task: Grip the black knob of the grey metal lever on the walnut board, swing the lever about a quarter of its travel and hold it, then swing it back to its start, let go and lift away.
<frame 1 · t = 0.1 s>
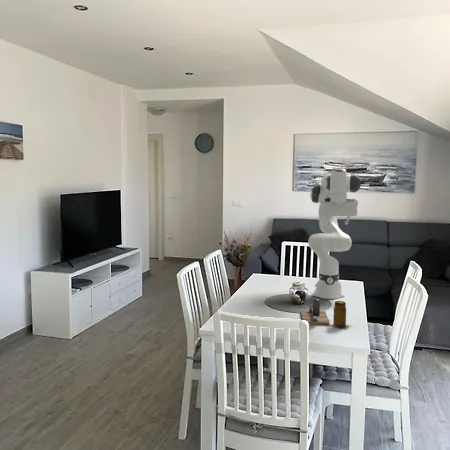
hand: (337, 224, 246), 48 cm above the table, tool pointing down, fingers open, 8 cm apart
lever: (314, 305, 236), point 7 cm above the table, hinge at 0.0°
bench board: (314, 318, 238), on the table
condiment: (341, 326, 227), on the table
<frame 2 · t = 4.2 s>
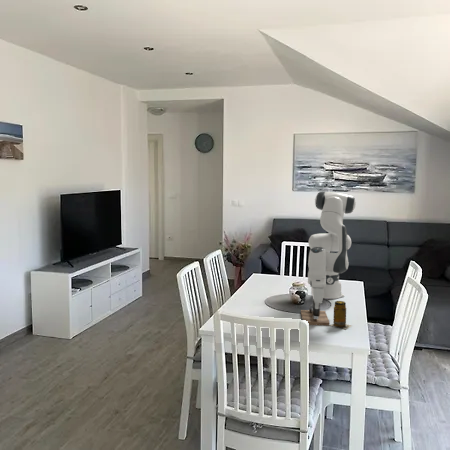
hand: (316, 307, 229), 9 cm above the table, tool pointing down, fingers closed on lever, 4 cm apart
lever: (314, 305, 236), point 7 cm above the table, hinge at 0.0°, touching gripper
everything else where it was.
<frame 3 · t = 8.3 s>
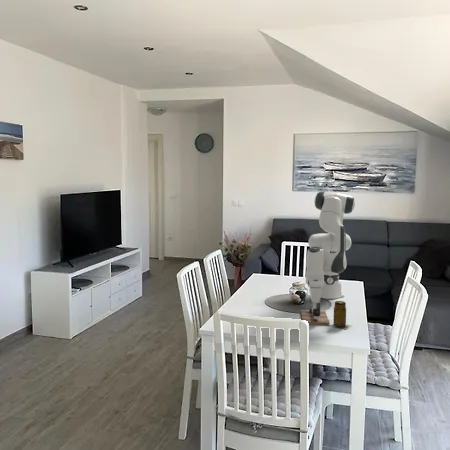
hand: (313, 307, 229), 9 cm above the table, tool pointing down, fingers closed on lever, 4 cm apart
lever: (315, 305, 236), point 7 cm above the table, hinge at 1.0°, touching gripper
everything else where it was.
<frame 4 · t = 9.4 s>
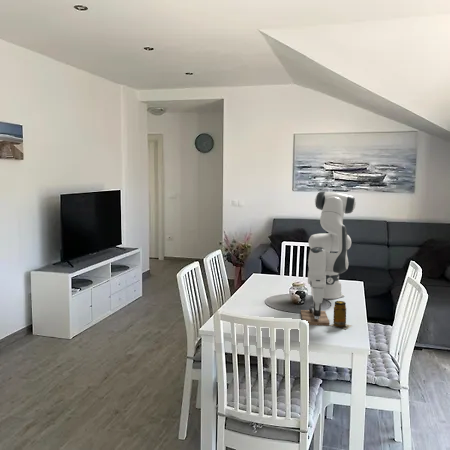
hand: (316, 307, 229), 9 cm above the table, tool pointing down, fingers open, 8 cm apart
lever: (315, 305, 236), point 7 cm above the table, hinge at 2.0°
everything else where it was.
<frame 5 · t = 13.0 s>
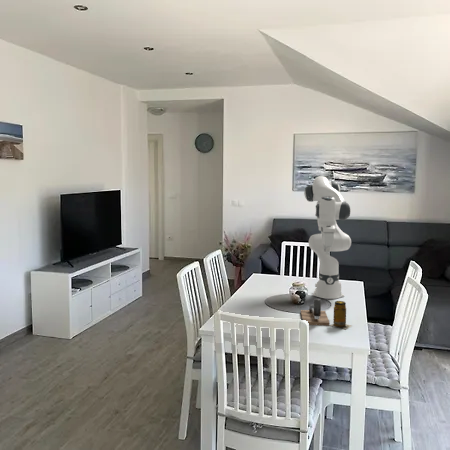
hand: (326, 253, 243), 33 cm above the table, tool pointing down, fingers open, 8 cm apart
nothing on the table moved.
at the end: lever at +2° (first picture: +0°); the gripper is holding nothing; condiment moved 0.4 cm from its start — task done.
